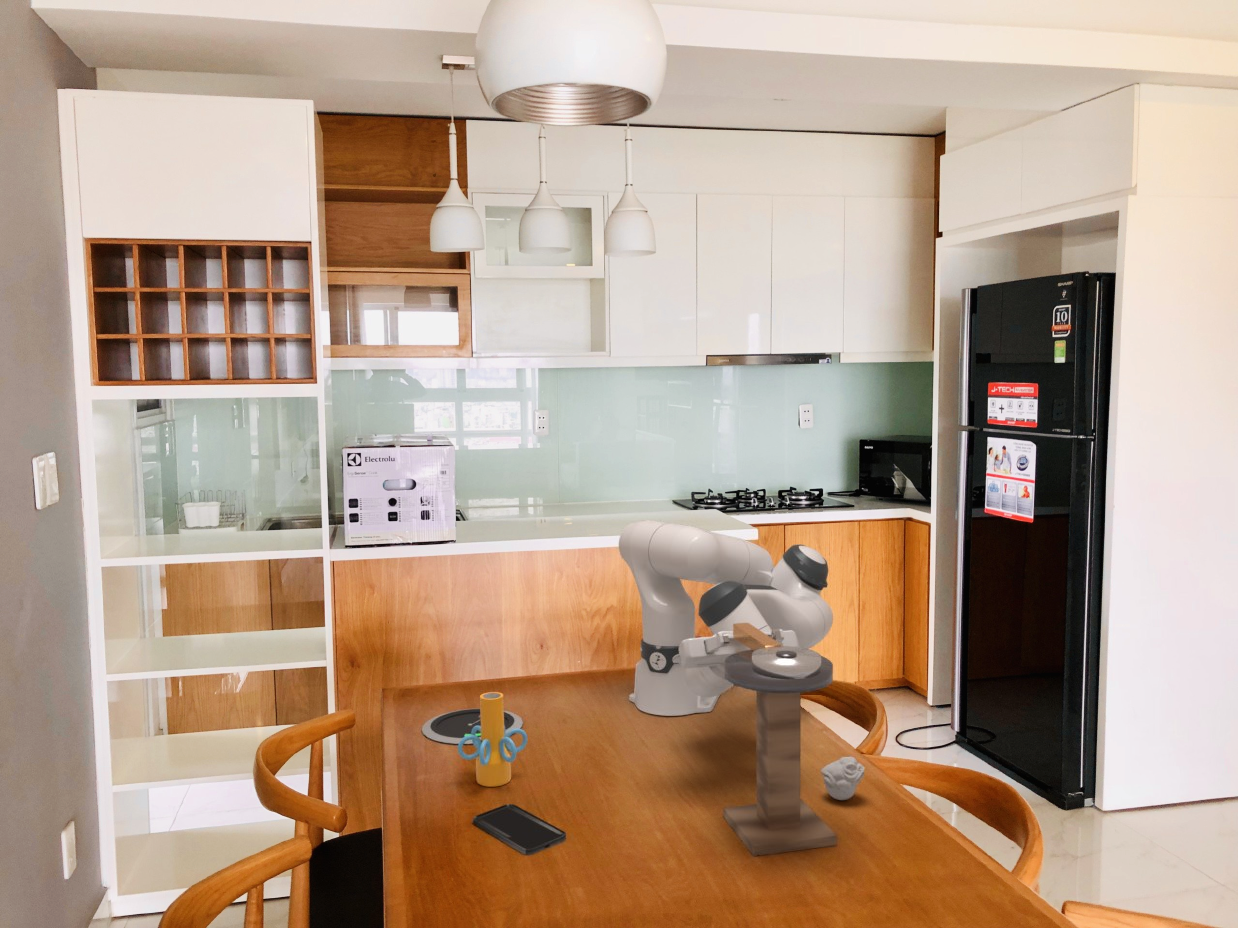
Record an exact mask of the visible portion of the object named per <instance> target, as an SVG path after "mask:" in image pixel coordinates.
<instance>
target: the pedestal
mask: <svg viewBox="0 0 1238 928" xmlns="http://www.w3.org/2000/svg"><path fill="white" fill-rule="evenodd" d="M752 653H753V651H752V650H746V651H741V652H737V653H735V654H732V655H730V656H728V657H727V658H726V659H725V678H726V679H727V680H728V681H729V682H730V683H732V684H734V685H736V686H735V687H740V688H741V689H742V688H743V689H746V690H750V691H753V692H756V694H755V695H756V699H755V700H756V701H755V702H756V704H755V705H756V707H755V708H756V723H755V724H756V803H752V804H751V803H750V804H744V805H734V806H727V807H726V806H725V807H723V812H722V813H723V818H724V820H725V821H726V822H727V824H728V825H729V826H730V827H731V828H732V831H734V833H735V834H736V836H737V838H739V839H740V840H742V841H743V842H742V841H741V842H742V844H744V846H745V848H747V850H748V851H749V852H750V853H751V855H752V856H753V857H757V855H760V856H767V855H774V854H775V855H776V854H780V853H781V854H782V853H789V852H797V851H804V850H811V849H817V848H818V849H819V848H820V849H821V848H826V847H827V848H828V847H834V846H838V835H837V834H836V833H835V832H834V831H833V829H832V828H831V827H830V826H828V824H826V823H825V822H824V820H823V819H821V818H820V816H818V815H817V813H815V812H814V810H812V809H811V808H810V807H809V805H807V803H805V802H804V800H803V799H802V798H801V756H802V755H801V746H802V745H801V739H802V738H801V734H802V733H801V732H802V731H801V730H802V728H801V727H802V725H801V718H802V717H801V715H802V714H801V710H802V708H801V705H802V704H801V703H802V701H801V699H802V698H801V696H802V695H801V693H808V692H813V691H817V690H820V689H824V688H826V687H828V686H829V685H832V682H833V680H834V664H833V662H832V661H831V660H830V659H829V658H827V657H825V656H824V655H821V672H820V673H819V674H818V675H816V676H813V677H809V678H804V679H778V678H771V677H766V676H763V675H760V674H758V673H756V672H754V671H753V670H752ZM734 685H733V686H734ZM766 854H767V855H766Z"/></svg>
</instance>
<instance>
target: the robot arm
mask: <svg viewBox="0 0 1238 928" xmlns="http://www.w3.org/2000/svg"><path fill="white" fill-rule="evenodd" d="M618 551H619V554H620V556H621V559H622V560H623V561H624V562H625V563H626V565H627V566H628V567H629V569H630V571H631V573H632V575H633V578H634V582H635V584H636V587H637V590H638V594H639V597H640V603H641V614H642V615H641V616H642V617H641V618H642V639H640V649H639V650H640V657H641V659H640V660H638V662H637V663H636V664H635V673H634V674H635V675H634V692H632V693H630V694H629V695H628V697H629V698H628V700H629V701H630V702H632V703H634V704H635V706H636V708H637V709H638V710H640V711H641V712H644V713H646V714H652V715H656V716H666V717H667V716H669V717H670V716H671V717H673V716H685V715H691V714H695V713H700V714H701V713H709V712H712V711H713V710H714V707H715V705H716V703H717V702H718V699H720V698H719V697H720V696H721V695H722V694H724V693H725V692H727V691H728V690H730V689H731V688H733V686H735V687H737V686H736V685H734V684H732V683H730V682H729V681H728V680H727V679H726V678H725V659H726V658H727V657H728V656H730V655H732V654H735V653H737V652H741V651H746V650H751V649H749V648H748V647H747V646H745V645H744V644H743V643H741V642H740V641H738V640H737V639H736V638H734V637H733V624H736V623H749V624H751V625H752V626H754V627H755V628H757V629H758V630H760V631H761V632H763V633H765V634H766V635H768V636H769V637H771V638H772V639H774V640H775V641H777V642H778V643H780V644H781V646H792V647H800V648H806V649H811V648H813V647H815V646H816V645H818V644H819V643H820V642H821V641H823V640H824V639H825V638H826V636H827V635H828V634H829V632H830V630H831V628H832V626H833V622H834V615H833V610H832V608H831V606H830V605H829V603H828V602H827V601H826V600H825V599H823V598H822V597H821V593H822V591H823V589H824V588H825V589H827V588H828V585H829V584H828V581H827V579H828V574H829V566H828V562H827V560H826V559H825V558H824V556H823V555H821V553H820V552H819V551H818V550H816V549H814V548H812V547H810V546H808V545H804V544H793V545H791V546H790V547H789V548H787V550H786V551H785V552H784V553H783V554H782V558H781V559H779V561H778V562H777V563H776V565H775V566H774V561H773V558H772V556H771V554H770V553H769V551H767V550H766V549H765V548H763V547H762V546H760V545H758V544H756V543H754V542H751V541H749V540H746V539H743V538H740V537H739V538H738V537H736V536H730V535H726V534H723V533H717V532H713V531H711V530H707V529H703V528H700V527H696V526H693V525H684V524H679V523H672V522H668V521H667V522H666V521H661V520H660V521H659V520H653V519H647V520H638V521H634V522H631V523H629V524H628V525H626V526H625V527H624V528H623V530H622V532H621V533H620V536H619V540H618ZM681 580H682V581H683V580H684V581H690V582H698V583H706V584H712V585H713V586H711V587H710V588H709V589H708V590H706V591H705V592H704V593H703V594H702V595H701V597H700V600H699V604H698V605H699V606H698V613H697V614H698V616H699V617H700V619H701V620H702V621H703V623H704V624H705V625H706V627H708V629H709V630H710V632H711V634H712V636H701V635H696V608H695V607H696V605H695V602H694V601H693V598H692V597H691V596H690V595H689V593H688V592H687V591H686V590H685V588H684V585H683V583H682V581H681Z"/></svg>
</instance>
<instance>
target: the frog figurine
mask: <svg viewBox="0 0 1238 928" xmlns="http://www.w3.org/2000/svg"><path fill="white" fill-rule="evenodd" d="M865 769H866V768H865V766H863V764H862V763H860V762H858V760H857V759H856V758H855V756H842V757H840V758H839V759H838V760H835V761H832V762H831V763H829V764H827V765H825V766H824V767H823V768H822V769H821V771H820V773H821V774H822V775H823V782H824V785H825V789H826V792H827V793H828V794H829V795H830V797H832V798H833V799H835V800H839V801H846V800H849V799H852V797H853V796H854V795H855V793H856V791H857V786H858V785H857V784H859V783H861V781H862V779H864V776H865V772H864V771H865Z"/></svg>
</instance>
